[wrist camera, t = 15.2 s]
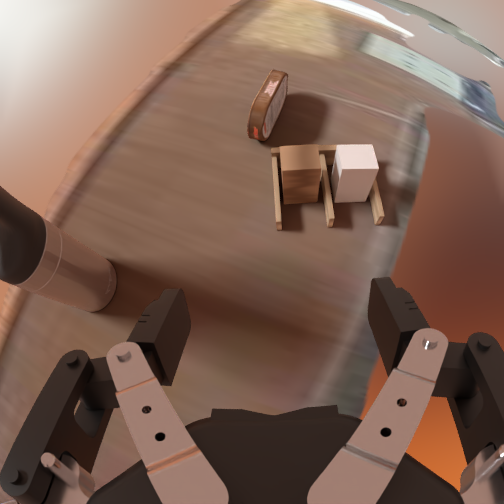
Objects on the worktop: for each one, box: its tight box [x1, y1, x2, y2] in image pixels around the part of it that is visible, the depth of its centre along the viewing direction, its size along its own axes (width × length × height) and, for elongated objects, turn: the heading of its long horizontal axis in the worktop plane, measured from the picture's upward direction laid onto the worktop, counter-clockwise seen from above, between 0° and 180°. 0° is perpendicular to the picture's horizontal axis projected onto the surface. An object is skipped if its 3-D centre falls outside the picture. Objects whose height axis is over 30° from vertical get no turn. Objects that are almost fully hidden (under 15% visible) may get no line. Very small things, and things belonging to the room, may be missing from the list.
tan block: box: [280, 144, 322, 204], centre depth 42 cm, size 5×4×9 cm
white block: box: [331, 145, 379, 203], centre depth 42 cm, size 5×4×9 cm
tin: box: [247, 70, 288, 141], centre depth 48 cm, size 15×3×8 cm, turn 159°
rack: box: [271, 145, 384, 230], centre depth 44 cm, size 15×12×4 cm
